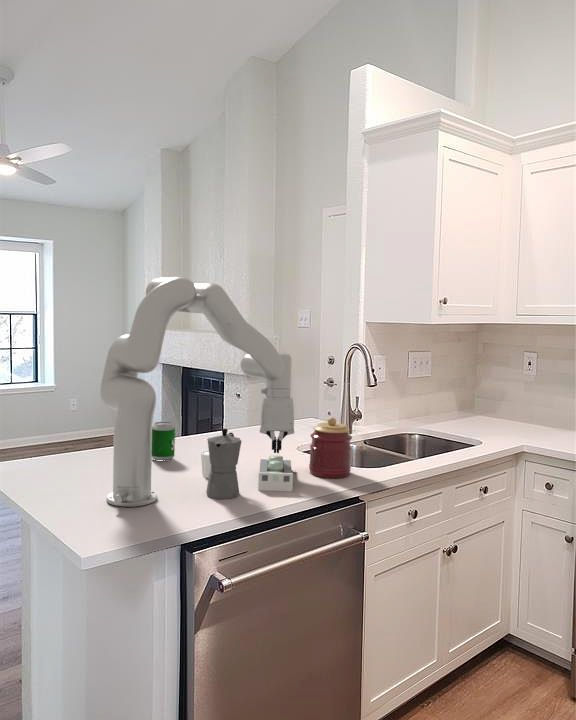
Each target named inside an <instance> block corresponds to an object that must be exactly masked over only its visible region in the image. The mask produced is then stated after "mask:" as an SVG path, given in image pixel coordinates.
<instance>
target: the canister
mask: <svg viewBox="0 0 576 720" xmlns="http://www.w3.org/2000/svg"><path fill="white" fill-rule="evenodd" d="M313 430H314V431H313V432H312V433H310V438H311V444H310V445H309V446H310V448H309V449H310V450H309V451H310V453H309V464H308V466H309V468H308V469H309V473H310V474H311V475H312V476H316V477H319V478H326V479H341V478H346V477H349V476H350V473H351V471H352V470H351V469H352V468H351V467H352V466H351V462H352V461H351V458H352V446H351V441H352V439H353V436H352V435H351V434H350V433H349V432H350V428H349V427H347V426H346V424H343V423H340V422H339V423H338V422H337V419H336V418H335V417H329V418H328V419H327V422H320V423H318V424H316V425H315V426H313Z"/></svg>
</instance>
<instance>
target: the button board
mask: <svg viewBox="0 0 576 720" xmlns="http://www.w3.org/2000/svg"><path fill="white" fill-rule="evenodd" d="M268 462H269V459H266V458H265V459H264V458H263V459H262V458H261V459H260V463H259V472H258V484H257V485H258V488H257V491H259V492H261V491H262V492H264V491H265V492H266V491H267V492H293V483H294V481H293V480H294V473H293V469H292V460H290V459H283V472H282V473H269V472H280V471H268Z"/></svg>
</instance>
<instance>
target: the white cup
mask: <svg viewBox="0 0 576 720" xmlns="http://www.w3.org/2000/svg"><path fill="white" fill-rule="evenodd" d="M200 455H201V458H200V459H201V473H202V475H201V476H202V477H203V478H205V479H209V475H210V471H211V464H210V457H209V450H205V451H202V452H201V453H200Z"/></svg>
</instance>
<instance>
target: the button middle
mask: <svg viewBox="0 0 576 720" xmlns="http://www.w3.org/2000/svg"><path fill="white" fill-rule="evenodd" d="M268 471H280V472H283V462H281V461H269V462H268Z"/></svg>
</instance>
